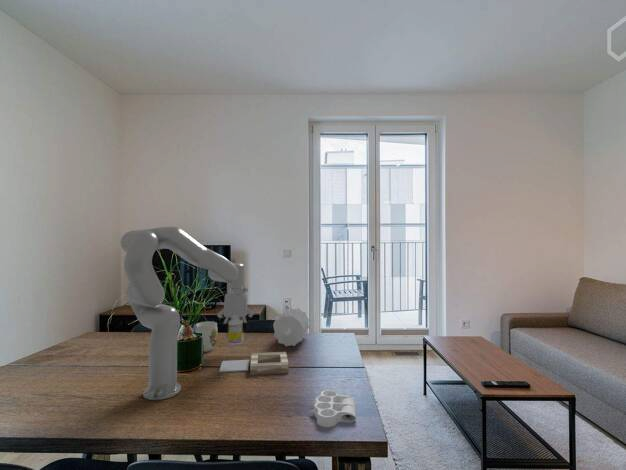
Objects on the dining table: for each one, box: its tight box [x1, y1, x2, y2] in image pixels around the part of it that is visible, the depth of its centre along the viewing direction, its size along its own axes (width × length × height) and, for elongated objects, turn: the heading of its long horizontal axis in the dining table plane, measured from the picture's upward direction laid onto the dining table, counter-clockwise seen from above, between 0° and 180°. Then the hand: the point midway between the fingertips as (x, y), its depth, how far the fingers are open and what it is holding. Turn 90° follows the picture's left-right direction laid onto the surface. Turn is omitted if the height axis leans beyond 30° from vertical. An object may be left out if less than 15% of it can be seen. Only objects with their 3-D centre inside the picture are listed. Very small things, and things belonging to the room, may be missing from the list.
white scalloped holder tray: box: [309, 389, 357, 428], centre depth 107 cm, size 3×18×15 cm
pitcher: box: [195, 321, 219, 353], centre depth 169 cm, size 11×18×14 cm, turn 166°
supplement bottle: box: [227, 315, 244, 346], centre depth 146 cm, size 7×7×13 cm
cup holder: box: [249, 351, 290, 376], centre depth 146 cm, size 16×16×4 cm
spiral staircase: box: [272, 307, 310, 347], centre depth 182 cm, size 18×18×25 cm
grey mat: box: [218, 359, 250, 373], centre depth 145 cm, size 12×12×1 cm
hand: (235, 331), depth 146 cm, fingers closed on supplement bottle, 6 cm apart
